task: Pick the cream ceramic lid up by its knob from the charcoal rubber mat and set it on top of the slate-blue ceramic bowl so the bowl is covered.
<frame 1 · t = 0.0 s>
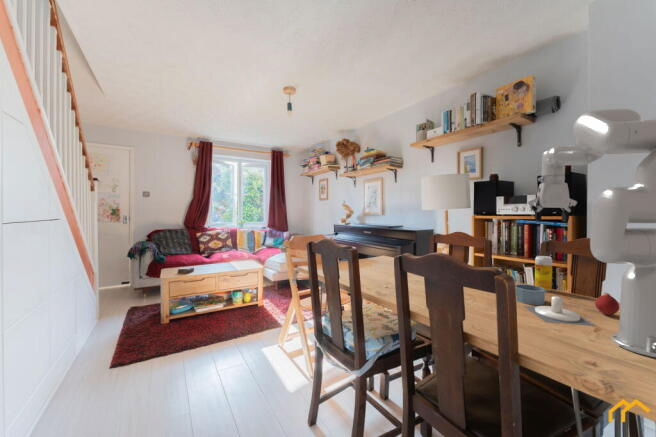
hand: (551, 221, 117), 31 cm above the table, tool pointing down, fingers open, 9 cm apart
red rounded piece: (606, 316, 96), on the table
mat: (556, 316, 96), on the table
bowl: (528, 301, 111), on the table
yellow bottle: (542, 290, 127), on the table
lid: (556, 314, 96), resting on mat
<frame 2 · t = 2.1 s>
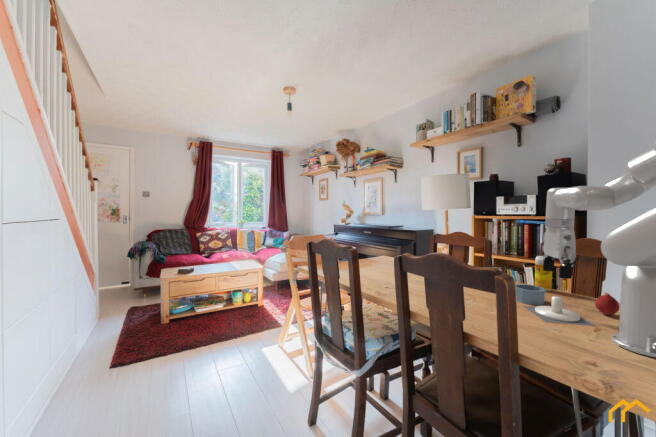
hand: (556, 274, 96), 14 cm above the table, tool pointing down, fingers open, 9 cm apart
nothing on the table moved.
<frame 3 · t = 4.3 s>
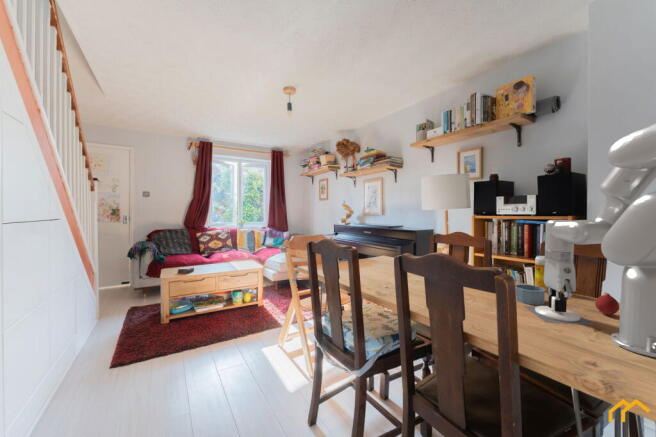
hand: (557, 309, 96), 2 cm above the table, tool pointing down, fingers closed on lid, 3 cm apart
lid: (556, 314, 96), resting on mat, touching gripper
everything else where it was.
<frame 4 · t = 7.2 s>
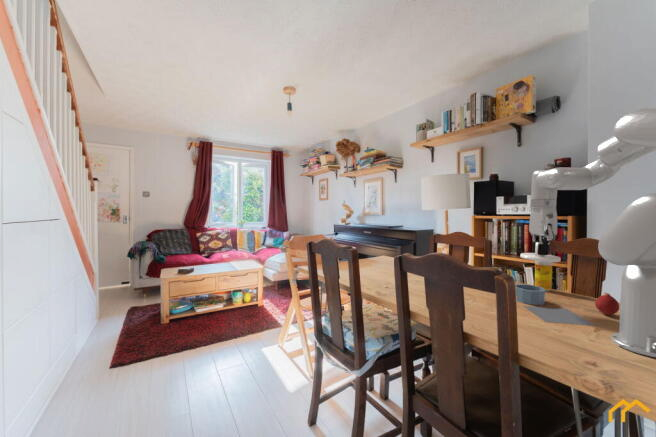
hand: (539, 253, 104), 20 cm above the table, tool pointing down, fingers closed on lid, 3 cm apart
lid: (539, 258, 104), point 18 cm above the table, touching gripper
everything else where it was.
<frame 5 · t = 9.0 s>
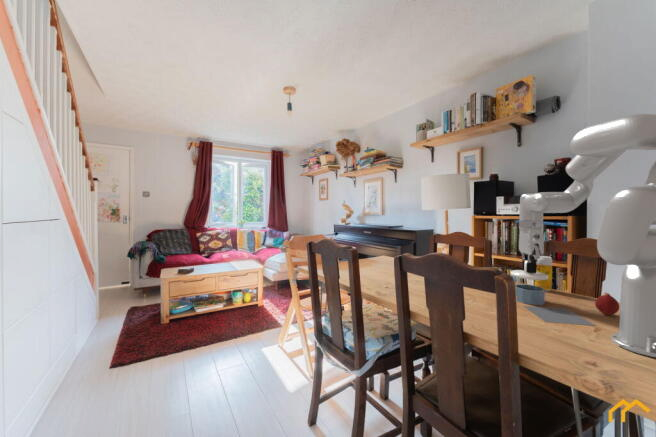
hand: (528, 271, 111), 12 cm above the table, tool pointing down, fingers closed on lid, 3 cm apart
lid: (528, 276, 111), point 10 cm above the table, touching gripper
everything else where it was.
when the fingers open (9 cm above the table, at t = 10.3 s): lid drops 1 cm, resting on bowl.
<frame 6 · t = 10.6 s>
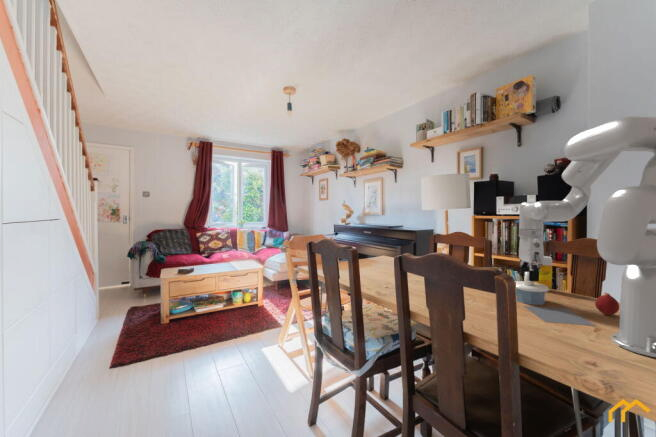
hand: (529, 278, 111), 9 cm above the table, tool pointing down, fingers open, 6 cm apart
lid: (528, 287, 111), point 5 cm above the table, touching bowl
everything else where it was.
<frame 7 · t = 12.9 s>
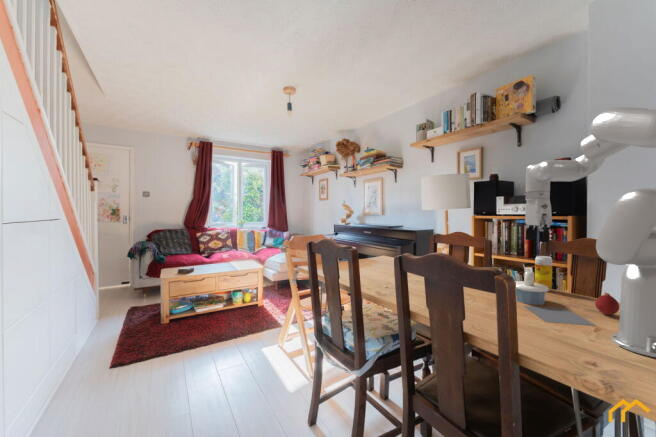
hand: (536, 240, 109), 24 cm above the table, tool pointing down, fingers open, 9 cm apart
nothing on the table moved.
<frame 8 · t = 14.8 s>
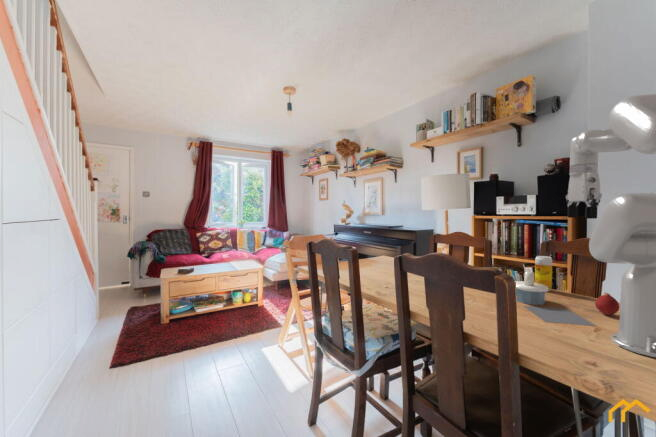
hand: (581, 217, 102), 33 cm above the table, tool pointing down, fingers open, 9 cm apart
nothing on the table moved.
at the end: lid 0.1 cm off-centre on the bowl, point 5.5 cm above the bowl's base; lid tilted 0°; the gripper is holding nothing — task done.
